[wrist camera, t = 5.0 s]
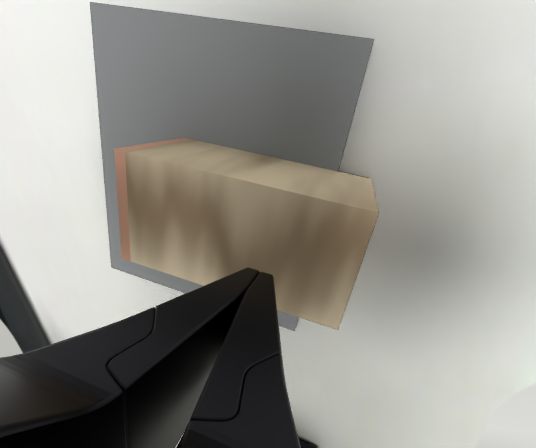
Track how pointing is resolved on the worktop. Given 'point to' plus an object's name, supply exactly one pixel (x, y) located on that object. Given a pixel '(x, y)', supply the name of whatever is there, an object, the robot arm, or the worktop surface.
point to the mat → (220, 95)
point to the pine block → (246, 221)
